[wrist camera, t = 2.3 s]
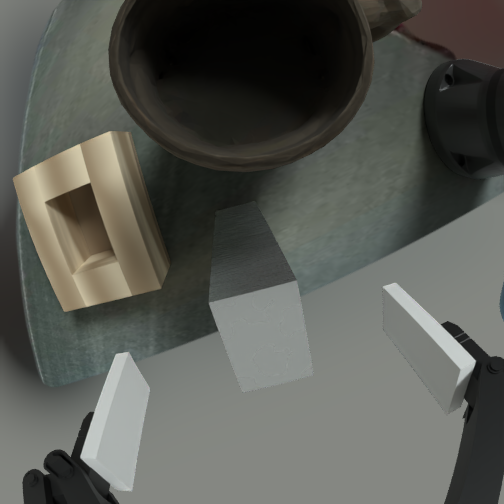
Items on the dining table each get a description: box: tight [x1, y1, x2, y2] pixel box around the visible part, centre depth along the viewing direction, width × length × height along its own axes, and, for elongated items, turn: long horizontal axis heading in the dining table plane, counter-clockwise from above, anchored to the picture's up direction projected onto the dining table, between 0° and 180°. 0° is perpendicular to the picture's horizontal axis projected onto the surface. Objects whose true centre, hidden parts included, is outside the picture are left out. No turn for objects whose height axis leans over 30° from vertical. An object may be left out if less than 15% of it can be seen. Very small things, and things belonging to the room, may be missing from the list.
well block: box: [13, 131, 171, 312], centre depth 26 cm, size 11×14×6 cm
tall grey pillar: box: [209, 201, 314, 392], centre depth 23 cm, size 4×6×18 cm, turn 13°
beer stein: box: [108, 0, 422, 172], centre depth 17 cm, size 15×11×20 cm
